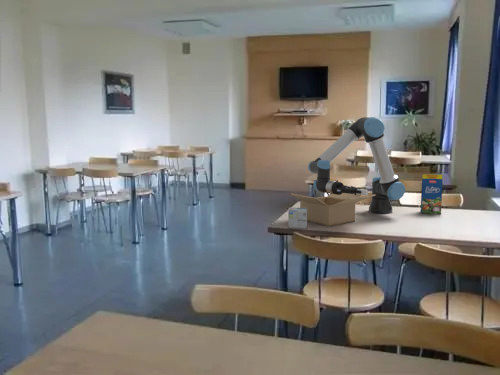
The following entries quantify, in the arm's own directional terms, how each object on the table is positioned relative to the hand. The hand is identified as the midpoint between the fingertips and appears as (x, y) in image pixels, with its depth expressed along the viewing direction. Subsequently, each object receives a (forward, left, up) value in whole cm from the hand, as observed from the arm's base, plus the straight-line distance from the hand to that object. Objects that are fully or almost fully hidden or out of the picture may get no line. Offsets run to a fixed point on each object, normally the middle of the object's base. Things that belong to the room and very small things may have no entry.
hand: (366, 192), depth 269 cm
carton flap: (+6, -8, -6) cm, 11 cm away
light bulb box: (+37, -8, -21) cm, 43 cm away
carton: (+17, -24, -21) cm, 36 cm away
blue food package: (-54, -44, -21) cm, 73 cm away
